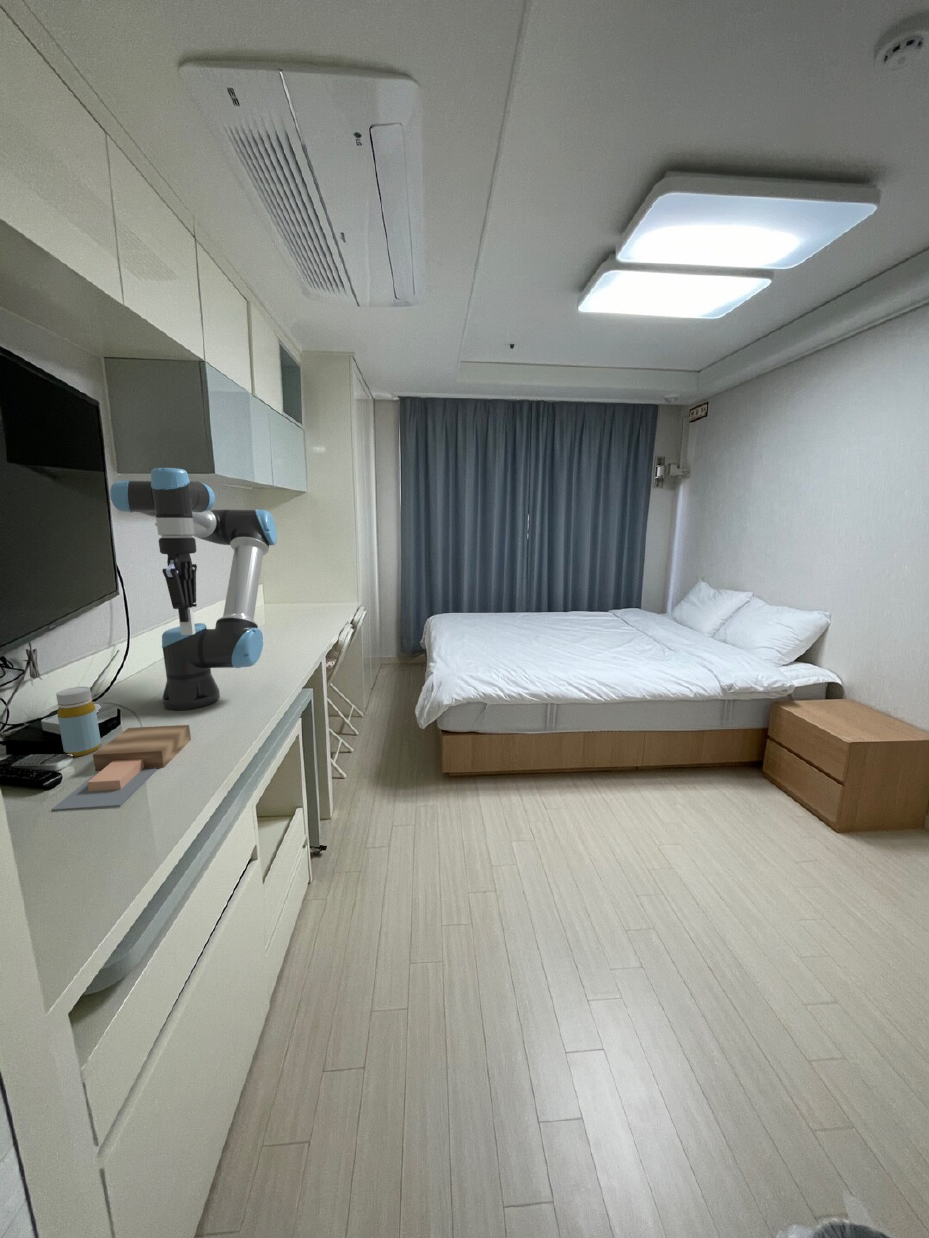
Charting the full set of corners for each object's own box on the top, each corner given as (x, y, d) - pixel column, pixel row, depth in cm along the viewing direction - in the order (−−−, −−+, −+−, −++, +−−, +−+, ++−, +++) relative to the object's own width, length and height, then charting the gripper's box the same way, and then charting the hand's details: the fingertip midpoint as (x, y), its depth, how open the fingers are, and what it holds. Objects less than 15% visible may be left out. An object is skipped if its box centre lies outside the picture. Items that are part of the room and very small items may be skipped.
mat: (97, 773, 105) (97, 771, 105) (156, 770, 106) (156, 768, 106) (51, 811, 91) (51, 809, 91) (120, 806, 93) (120, 804, 93)
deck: (130, 742, 119) (128, 727, 119) (191, 739, 121) (189, 724, 120) (95, 771, 106) (92, 754, 105) (163, 767, 107) (161, 750, 107)
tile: (114, 768, 106) (113, 760, 106) (144, 767, 107) (142, 758, 106) (88, 791, 97) (87, 782, 97) (121, 789, 98) (119, 780, 98)
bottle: (105, 742, 120) (96, 684, 117) (96, 754, 113) (86, 693, 110) (71, 746, 117) (60, 687, 114) (59, 759, 111) (48, 697, 108)
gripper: (172, 536, 120) (183, 628, 125) (145, 537, 107) (158, 641, 112) (204, 535, 121) (214, 628, 126) (181, 537, 108) (193, 640, 113)
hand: (188, 634), depth 119 cm, fingers closed
